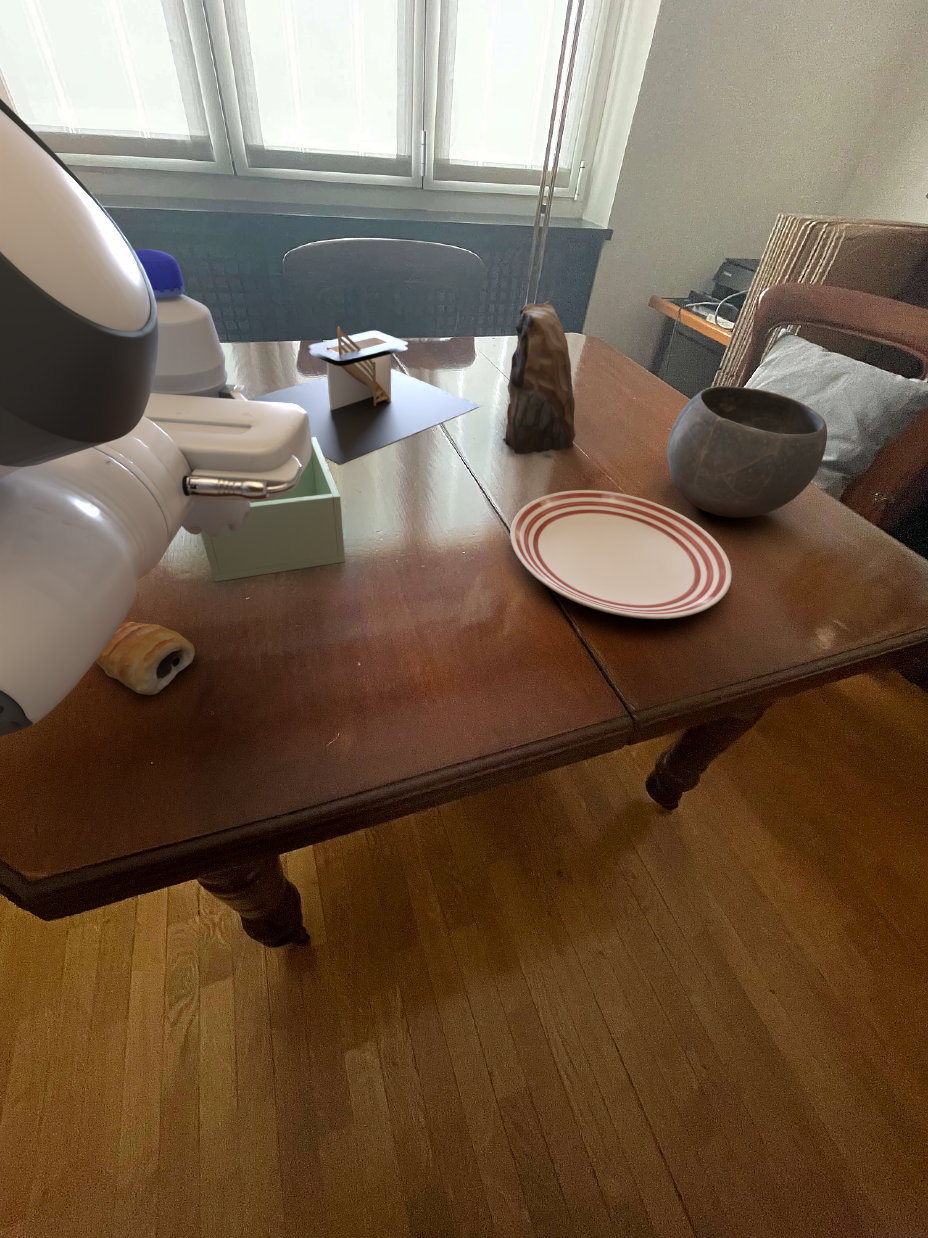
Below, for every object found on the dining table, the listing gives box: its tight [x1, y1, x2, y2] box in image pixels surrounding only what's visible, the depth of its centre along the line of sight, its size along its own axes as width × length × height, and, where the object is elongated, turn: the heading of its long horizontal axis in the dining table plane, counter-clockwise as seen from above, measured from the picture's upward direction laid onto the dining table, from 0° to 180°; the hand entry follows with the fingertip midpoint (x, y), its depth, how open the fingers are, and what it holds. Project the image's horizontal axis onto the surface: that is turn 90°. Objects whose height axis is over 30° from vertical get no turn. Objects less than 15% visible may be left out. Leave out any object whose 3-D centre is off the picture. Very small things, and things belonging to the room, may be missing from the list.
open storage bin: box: [199, 437, 346, 583], centre depth 65 cm, size 15×15×9 cm
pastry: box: [95, 621, 196, 696], centre depth 51 cm, size 9×7×4 cm
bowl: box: [666, 385, 828, 519], centre depth 79 cm, size 20×20×15 cm
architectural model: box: [248, 326, 481, 465], centre depth 94 cm, size 35×28×14 cm
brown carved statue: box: [502, 300, 576, 455], centre depth 89 cm, size 13×13×20 cm
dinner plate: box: [509, 489, 732, 620], centre depth 69 cm, size 27×27×3 cm
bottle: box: [133, 248, 250, 537], centre depth 41 cm, size 7×7×20 cm
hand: (186, 390), depth 41 cm, fingers closed on bottle, 6 cm apart
